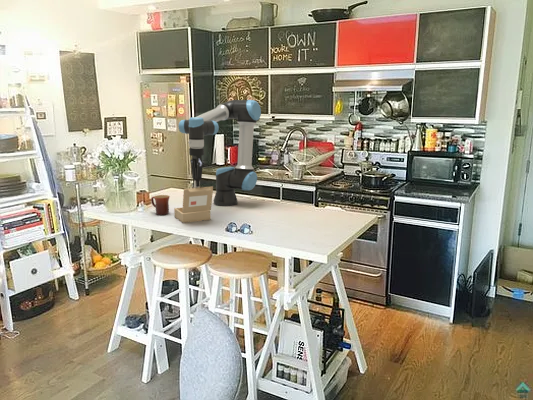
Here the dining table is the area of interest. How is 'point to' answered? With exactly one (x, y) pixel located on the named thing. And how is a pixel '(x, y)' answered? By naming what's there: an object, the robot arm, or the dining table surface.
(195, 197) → the lid
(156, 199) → the mug
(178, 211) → the mailer box
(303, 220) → the dining table surface
